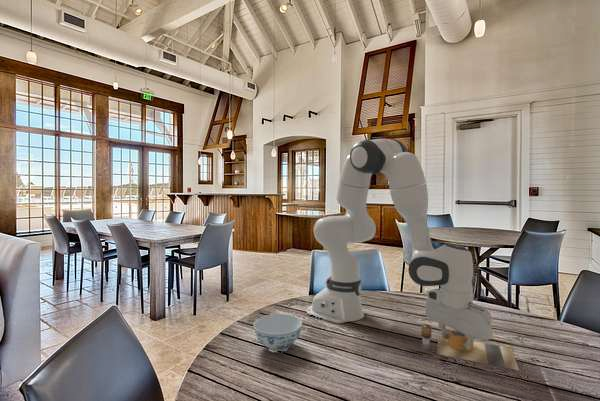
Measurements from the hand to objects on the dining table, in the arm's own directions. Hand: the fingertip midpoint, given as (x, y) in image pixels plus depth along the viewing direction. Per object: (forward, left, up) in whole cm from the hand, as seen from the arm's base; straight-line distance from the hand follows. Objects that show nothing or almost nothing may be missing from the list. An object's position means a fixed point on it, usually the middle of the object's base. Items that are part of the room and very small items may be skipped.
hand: (456, 343), depth 98 cm
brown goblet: (-8, -5, -2) cm, 10 cm away
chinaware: (-50, -21, -3) cm, 54 cm away
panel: (+5, 0, -2) cm, 5 cm away
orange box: (+1, +1, -1) cm, 2 cm away
